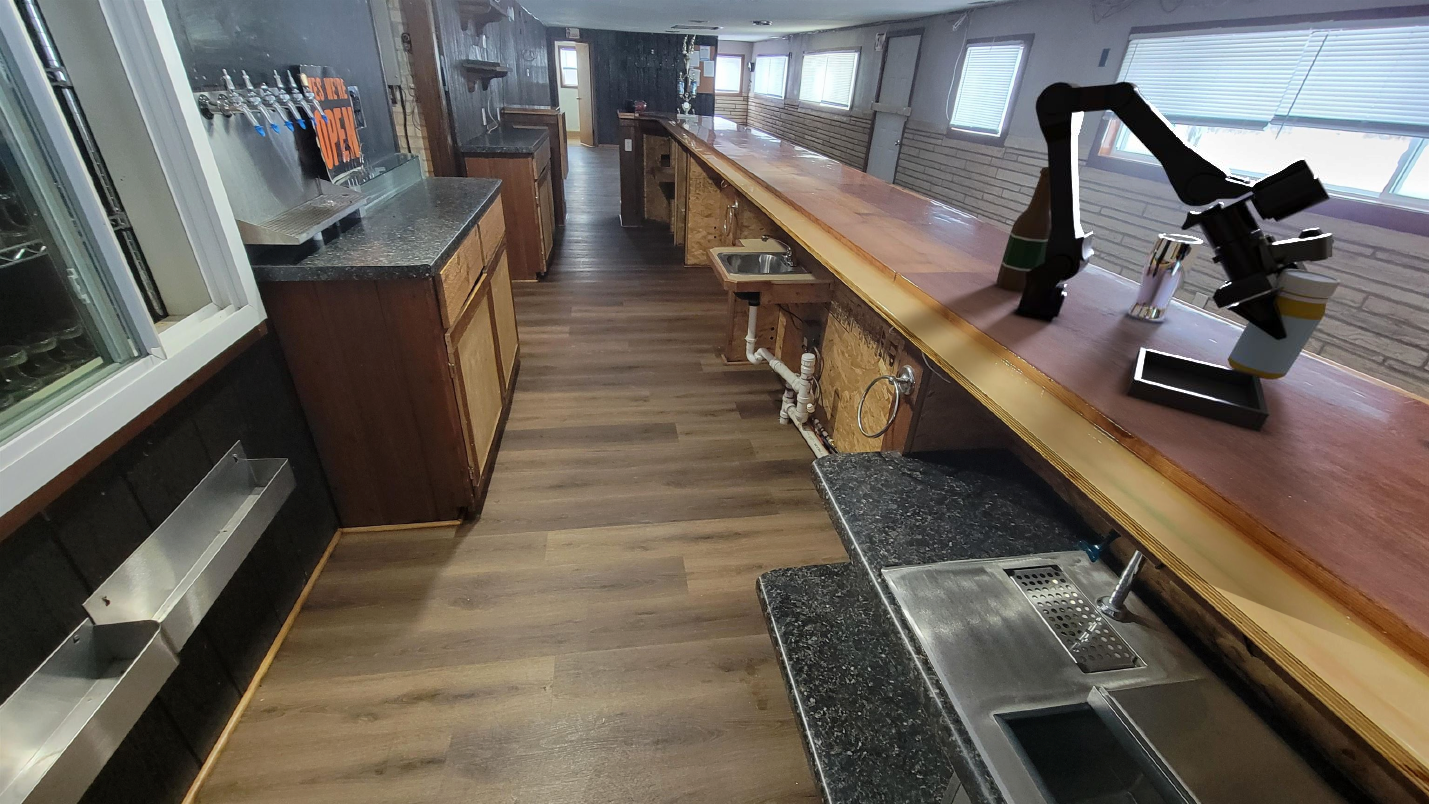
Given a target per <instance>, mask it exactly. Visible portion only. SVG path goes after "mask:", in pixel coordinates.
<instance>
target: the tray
mask: <svg viewBox="0 0 1429 804" xmlns="http://www.w3.org/2000/svg"><path fill="white" fill-rule="evenodd" d="M1136 353H1137V354H1136V355H1135V358H1134V359H1133V362H1132V363H1133V364H1132V368H1131V373H1130V376H1129V377H1130V378H1129V382H1128V386H1127V392H1126V396H1129V397H1133V398H1137V399H1140V400H1143V401H1148V402H1151V403H1155V404H1159V405H1161V406H1166V407H1170V408H1173V409H1177V410H1181V411H1184V412H1187V413H1191V414H1195V415H1199V416H1202V417H1206V418H1209V419H1213V420H1217V421H1221V422H1224V423H1228V424H1232V425H1235V426H1238V427H1242V428H1247V429H1250V430H1254V431H1257V432H1260V431H1261V430H1262V428H1263V426H1264V425H1265V423H1266V421H1267V419H1268V418H1269V417H1270V412H1269V408H1268V404H1267V401H1266V400H1267V399H1266V396H1265V393H1264V389H1263V388H1264V387H1263V385H1262V379H1261V378H1260V376H1259V375H1256V374H1252V373H1248V372H1244V371H1240V370H1236V369H1233V368H1232V367H1231V368H1230V367H1227V366H1223V365H1218V364H1214V363H1209V362H1206V361H1202V360H1196V359H1193V358H1189V357H1184V356H1180V355H1175V354H1172V353H1167V352H1162V351H1160V350H1159V351H1158V350H1154V349H1150V348H1145V347H1142V346H1140V347H1139V349H1138V351H1137V352H1136Z"/></svg>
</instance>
